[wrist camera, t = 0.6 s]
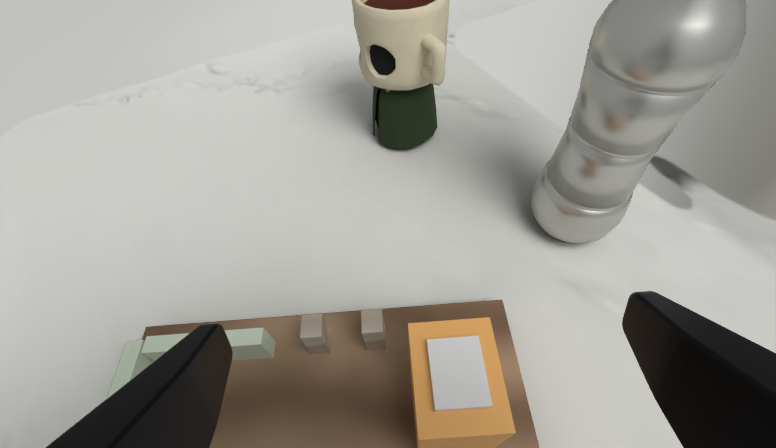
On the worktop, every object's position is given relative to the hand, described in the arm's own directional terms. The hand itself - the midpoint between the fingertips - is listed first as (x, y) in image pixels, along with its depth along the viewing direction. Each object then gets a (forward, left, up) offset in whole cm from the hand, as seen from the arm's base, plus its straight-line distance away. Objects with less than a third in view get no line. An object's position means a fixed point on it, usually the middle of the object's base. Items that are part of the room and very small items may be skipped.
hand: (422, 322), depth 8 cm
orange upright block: (+1, -2, -16) cm, 16 cm away
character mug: (+26, -1, -17) cm, 32 cm away
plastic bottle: (+14, -13, -17) cm, 26 cm away
